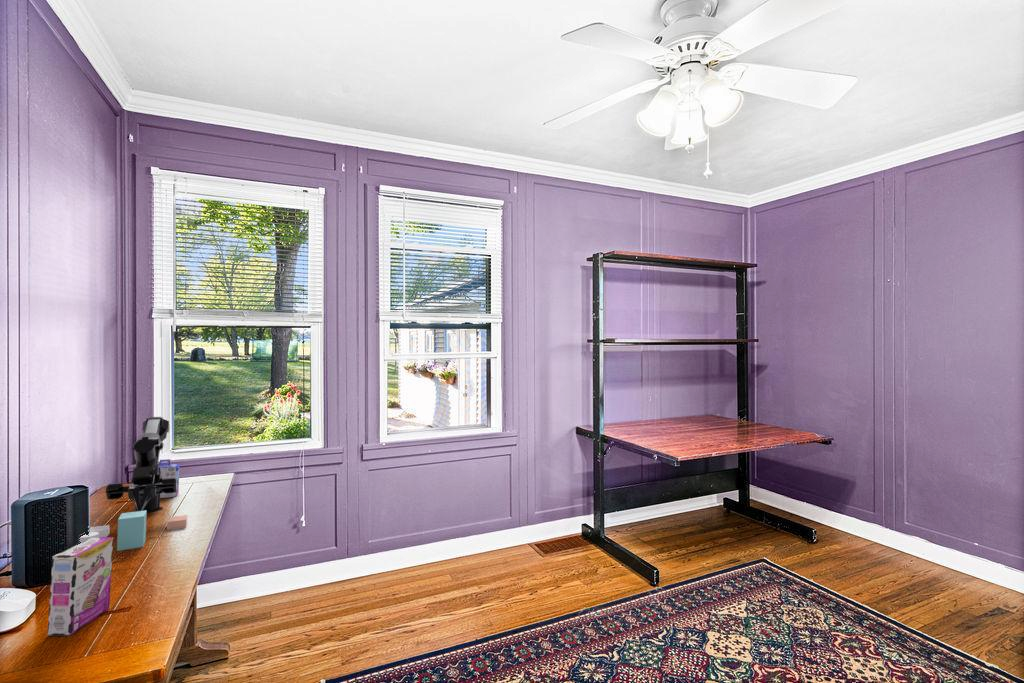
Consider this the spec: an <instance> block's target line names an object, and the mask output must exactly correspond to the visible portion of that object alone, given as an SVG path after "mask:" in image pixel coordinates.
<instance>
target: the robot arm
mask: <svg viewBox="0 0 1024 683" xmlns="http://www.w3.org/2000/svg"><path fill="white" fill-rule="evenodd" d="M141 432H142V434H143V435H141V436H139V437H138V438H137V441H135V442H134V444H133V447H132V452H133V453H134V458H135V466H134V467H133V468H132V476H131V484H129V485H127V486H124V485H123V482H113V483H109V484H107V485H106V487H105V494H106V498H107V500H110V501H111V500H117V499H118V500H119V499H121V498H122V497H123V496H124V494H127V495H128V499H129V500H133V502H134V504H135V506H134V508H135V509H133V510H132V512H137V511H145V510H147V514H149V513H153V512H156V511H158V510H163V509H164V508H163V506H161V498H160V494H161V493H163V492H164V493H165V494H167V493H175V492H176V491H177V479H176V478H165V479H163V477H161V470H160V468H159V462H160V451H162V450H163V448H164V447H165V446H164V443H163V441H164V440H166V439H167V436H168V433H169V432H170V420H167V419H164V418H163V417H162V416H149V417H146V420H144V421H143V422H142V431H141Z"/></svg>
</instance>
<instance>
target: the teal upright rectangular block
mask: <svg viewBox="0 0 1024 683" xmlns="http://www.w3.org/2000/svg"><path fill="white" fill-rule="evenodd" d="M147 516H148V513H147V510H145V511H137V512H133V511H131V512H121V514H120V515H119V517H118V519H117V541H116V551H117V552H121V551H125V550H133V549H139V548H144V546H145V542H146V538H147Z"/></svg>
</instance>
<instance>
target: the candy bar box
mask: <svg viewBox="0 0 1024 683" xmlns="http://www.w3.org/2000/svg"><path fill="white" fill-rule="evenodd" d="M79 543H80V542H79ZM77 544H78V543H77ZM77 544H76V545H74V546H71V547H70V548H67V549H65V550H63V551H61V552H59V553H57V554H55V555H53V556H51V558H52V560H51V573H50V574H51V575H50V592H49V601H48V602H49V604H48V605H49V606H48V620H47V621H48V624H47V636H48V637H49V636H51V637H52V636H53V637H54V636H58V637H59V636H63V637H64V636H66V637H67V636H71V635H73V634H75V633H76V632H77V631H79V630H80V629H81V628H84V627H85V626H86V625H87V624H89V623H90V622H92V621H93V620H94V619H96V618H98V617H99V616H100V615H102V614H104V613H105V612H106V611H108V610H109V609H110V600H111V583H112V582H111V581H112V567H113V566H112V565H113V548H114V537H111V536H110V537H109V536H107V537H99V538H90V539H88V540H86V541H84V542H82V543H80V544H78V545H77Z"/></svg>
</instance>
